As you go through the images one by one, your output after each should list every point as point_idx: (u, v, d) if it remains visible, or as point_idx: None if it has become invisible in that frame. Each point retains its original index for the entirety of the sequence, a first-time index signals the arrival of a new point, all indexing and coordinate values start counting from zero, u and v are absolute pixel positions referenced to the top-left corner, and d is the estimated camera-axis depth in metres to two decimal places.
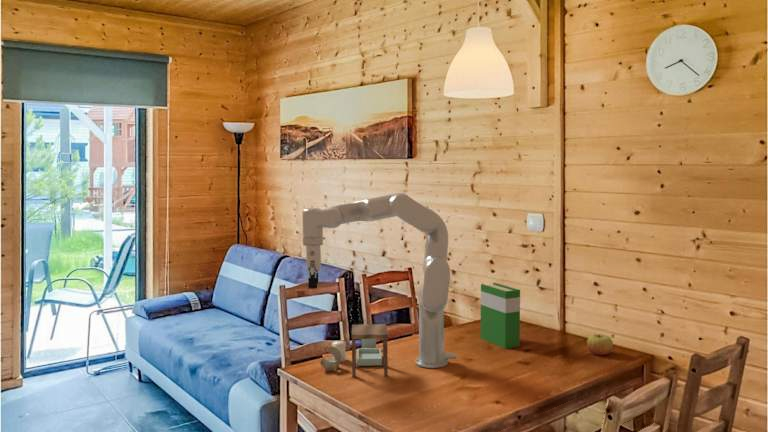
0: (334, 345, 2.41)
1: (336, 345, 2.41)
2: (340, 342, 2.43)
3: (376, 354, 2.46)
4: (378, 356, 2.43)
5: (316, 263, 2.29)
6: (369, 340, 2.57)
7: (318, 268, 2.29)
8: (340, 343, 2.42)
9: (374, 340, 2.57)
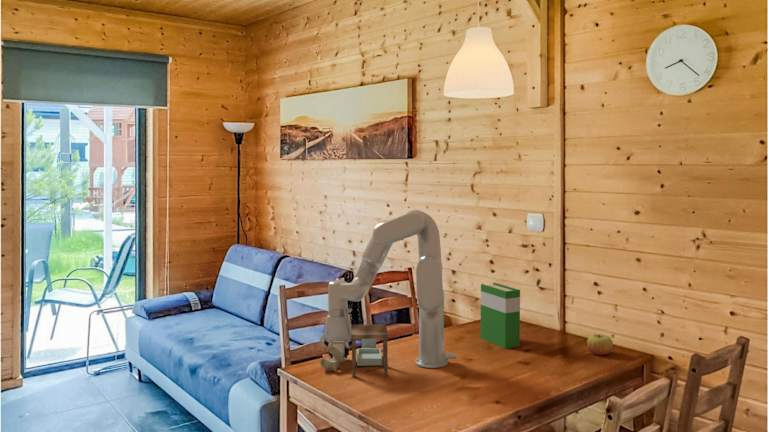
0: (334, 345, 2.41)
1: (336, 345, 2.41)
2: (340, 342, 2.43)
3: (376, 354, 2.46)
4: (378, 356, 2.43)
5: None
6: (369, 340, 2.57)
7: None
8: (340, 343, 2.42)
9: (374, 340, 2.57)
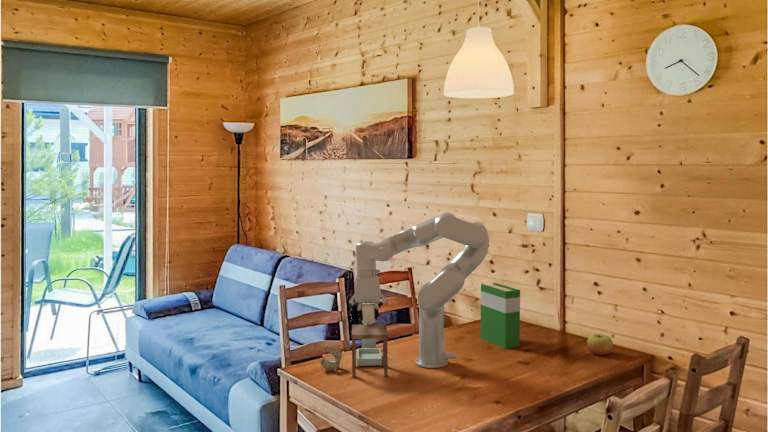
0: (364, 307, 2.38)
1: (365, 307, 2.38)
2: (369, 304, 2.40)
3: (376, 354, 2.46)
4: (378, 356, 2.43)
5: (380, 291, 2.41)
6: (369, 340, 2.57)
7: None
8: (370, 305, 2.39)
9: (374, 340, 2.57)
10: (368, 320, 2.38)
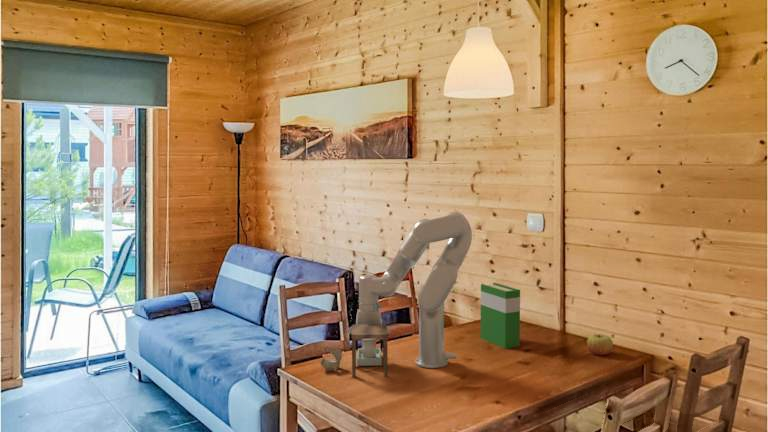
0: (365, 342, 2.39)
1: (367, 342, 2.39)
2: (371, 339, 2.42)
3: (376, 354, 2.46)
4: (378, 356, 2.43)
5: None
6: None
7: None
8: (371, 340, 2.40)
9: None
10: (369, 356, 2.39)
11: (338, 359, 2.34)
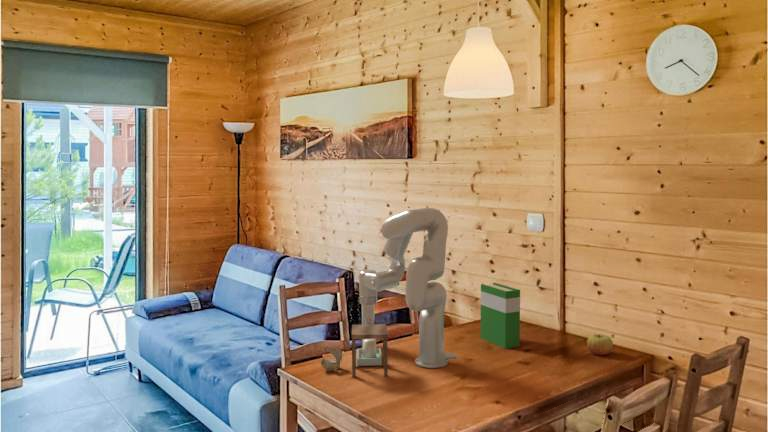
0: (365, 342, 2.40)
1: (367, 342, 2.39)
2: (371, 339, 2.42)
3: (376, 354, 2.46)
4: (378, 356, 2.43)
5: None
6: None
7: None
8: (371, 340, 2.40)
9: None
10: (369, 356, 2.39)
11: (338, 359, 2.34)
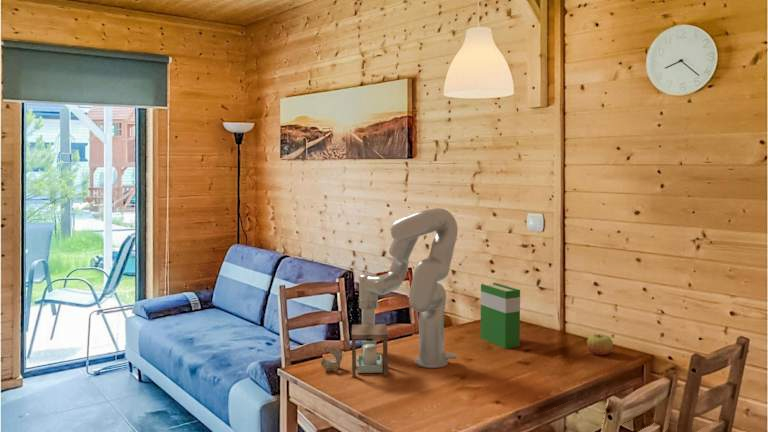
0: (365, 349, 2.32)
1: (367, 349, 2.31)
2: (371, 345, 2.34)
3: None
4: (379, 363, 2.35)
5: None
6: None
7: None
8: (371, 346, 2.33)
9: None
10: (369, 363, 2.32)
11: (338, 359, 2.34)
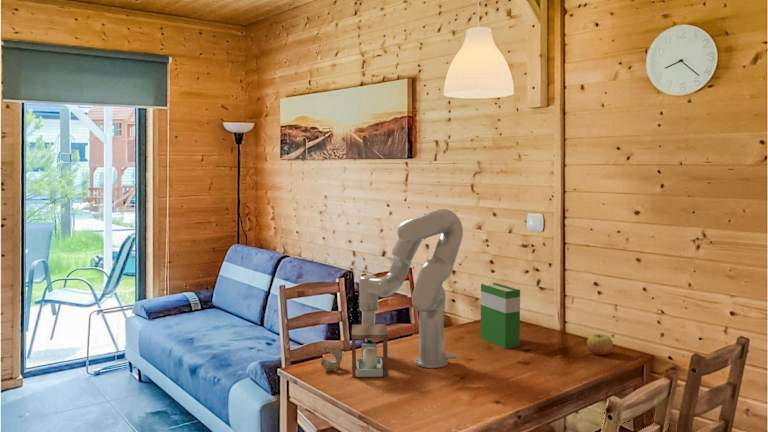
0: (365, 352, 2.27)
1: (367, 352, 2.27)
2: (371, 349, 2.30)
3: (377, 364, 2.34)
4: (379, 366, 2.31)
5: None
6: None
7: None
8: (371, 350, 2.28)
9: None
10: (369, 366, 2.27)
11: (338, 359, 2.34)
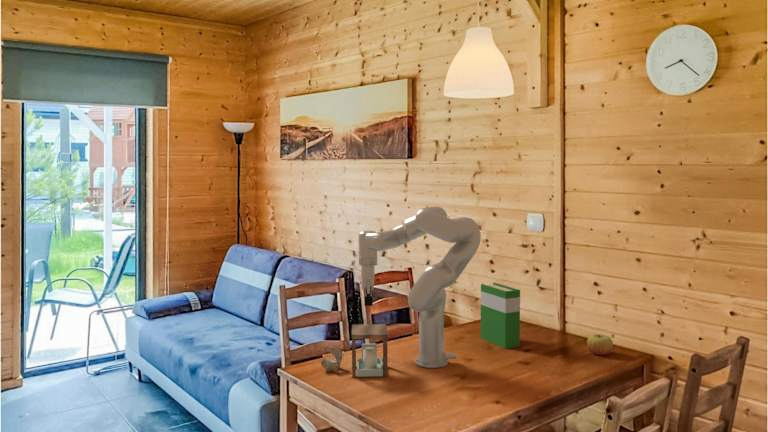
0: (365, 352, 2.28)
1: (367, 352, 2.27)
2: (371, 349, 2.30)
3: (377, 364, 2.34)
4: (379, 366, 2.31)
5: None
6: None
7: None
8: (371, 350, 2.28)
9: None
10: (369, 366, 2.27)
11: (339, 359, 2.34)
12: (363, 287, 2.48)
